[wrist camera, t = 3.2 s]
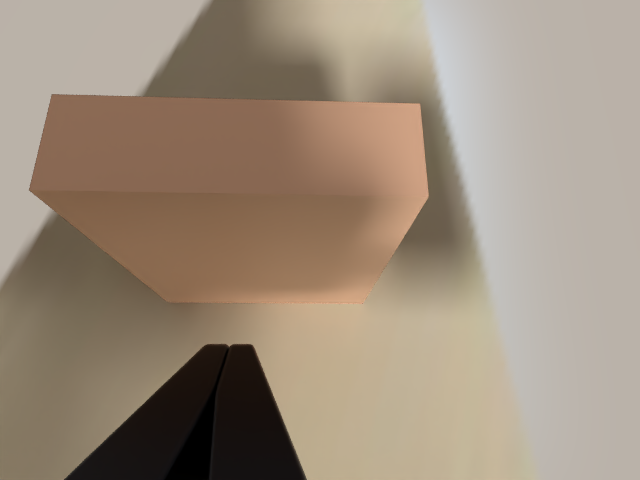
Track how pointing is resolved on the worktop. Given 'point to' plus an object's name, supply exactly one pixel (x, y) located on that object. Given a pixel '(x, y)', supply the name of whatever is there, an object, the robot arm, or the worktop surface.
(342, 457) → the worktop surface
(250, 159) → the block
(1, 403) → the worktop surface
